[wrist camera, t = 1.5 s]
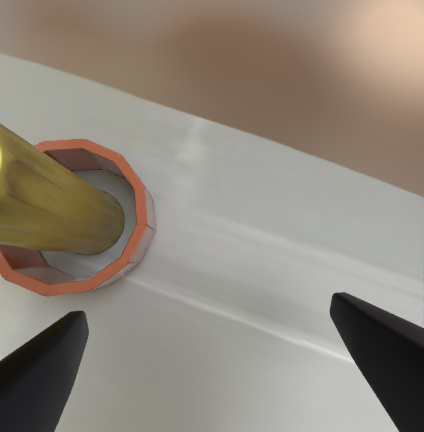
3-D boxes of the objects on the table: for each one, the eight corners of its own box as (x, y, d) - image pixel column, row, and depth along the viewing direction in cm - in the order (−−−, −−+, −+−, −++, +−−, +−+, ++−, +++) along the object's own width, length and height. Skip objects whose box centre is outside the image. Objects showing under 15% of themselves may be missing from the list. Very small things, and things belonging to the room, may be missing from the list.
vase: (46, 202, 22) (-208, 110, 8) (112, 180, 23) (-10, 61, 9) (67, 265, 21) (-171, 287, 7) (134, 239, 22) (39, 214, 8)
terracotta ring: (119, 306, 21) (101, 320, 17) (-3, 254, 21) (-55, 255, 16) (174, 191, 23) (171, 176, 19) (64, 142, 23) (34, 115, 18)
